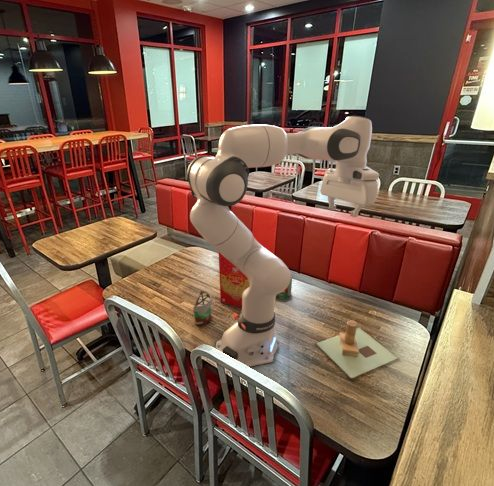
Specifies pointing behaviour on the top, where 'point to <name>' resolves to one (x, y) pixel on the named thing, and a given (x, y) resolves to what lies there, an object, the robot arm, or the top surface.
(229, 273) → the food packaging
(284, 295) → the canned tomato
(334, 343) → the mat
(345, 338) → the wooden block stack
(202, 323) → the food container
